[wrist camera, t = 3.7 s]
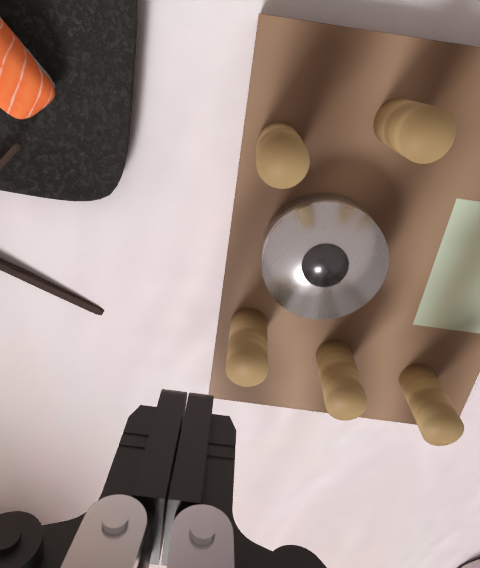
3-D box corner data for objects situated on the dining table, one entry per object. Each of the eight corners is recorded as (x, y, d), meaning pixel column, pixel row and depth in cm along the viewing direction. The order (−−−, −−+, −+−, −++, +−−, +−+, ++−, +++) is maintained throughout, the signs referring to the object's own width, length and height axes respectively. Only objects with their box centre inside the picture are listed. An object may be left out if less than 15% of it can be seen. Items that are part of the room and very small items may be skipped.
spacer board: (594, 67, 24) (701, 69, 18) (446, 415, 35) (484, 486, 29) (258, 16, 24) (259, 1, 18) (210, 384, 34) (200, 450, 28)
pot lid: (392, 201, 26) (405, 214, 24) (362, 307, 29) (370, 328, 27) (271, 184, 26) (273, 195, 24) (253, 292, 29) (253, 312, 27)
